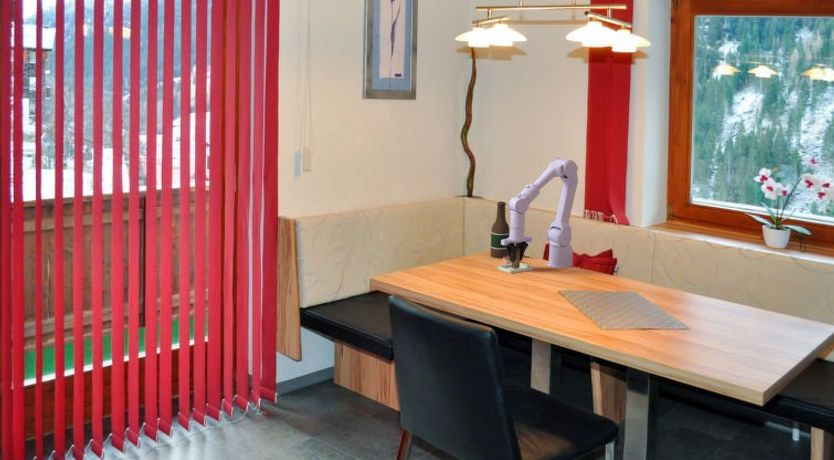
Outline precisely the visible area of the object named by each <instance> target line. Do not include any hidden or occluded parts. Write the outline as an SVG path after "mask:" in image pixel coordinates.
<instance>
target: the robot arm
mask: <svg viewBox="0 0 834 460" xmlns="http://www.w3.org/2000/svg"><path fill="white" fill-rule="evenodd" d="M578 170H579V166H578V165H577V164H576V161H574V160H572V159H565V158H561V157H555V158H553V160H552V161H551V162H549V163H548V166H547V168H546V169H544V171H543V173H542V174H541V175H540V176H539V177H538V178H537V179H536V180H535V182H534V183H529V184H526V185H525V186H524V189H523V190H522V191H520V193H517V195H516V196H515V197H511V199H510V200H509V202H508V204H507V208H508V210H509V214H510V220H509V221H510V222H509V223H510V225H509V232H510V233H509V238H507V239H503V240H501V245H505V247H506V249H507V251H508V254H509V255H508V257H509V258H510V261H511V262H515V255H516V250H517V248H520V262H522V260H523V257H524V255H525V252H526V250H527V248H528V247H529V242H530V243H532V242H533V236H529V235H528V236H525V229H526V228H525V224H526V223H525V222H526V212H527V211H528V210H529V207H530V205H531V203H532V202H533V201H534V200H535V199H536V198H537V197H538V196H539V195H540V194H541V193H540V192H541V191H540V190H541V189H542V188H544V187H545V186H546V185H547V184H548V183H549V182H550V181H551V180H553V179H554V178H560V180H561V181H562V182H563V184H562V189H561V193H560V198H559V202H558V207H557V211H556V216H555V220H554V221H552V222H551V223H550V225H549V229H548V230H547V232H546V239H547V240H548V244H549V250H548V251H549V253H548V254H549V255H548V263H544V265H545V266H549V267H552V268H555V269H560V268H561V269H562V268H568V267H573V266H574V264H573V259H574V255H573V254H574V250H573V247H572V245H571V244H570V243H571V241H572V227H571V225H570V218H571V214H572V210H573V206H574V205H573V204H574V201H575V198H576V197H575V196H576V191H577V187H578V184H579V183H578V182H579V178H578Z"/></svg>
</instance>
